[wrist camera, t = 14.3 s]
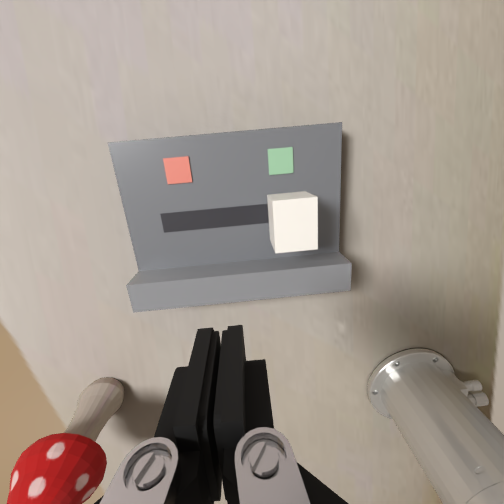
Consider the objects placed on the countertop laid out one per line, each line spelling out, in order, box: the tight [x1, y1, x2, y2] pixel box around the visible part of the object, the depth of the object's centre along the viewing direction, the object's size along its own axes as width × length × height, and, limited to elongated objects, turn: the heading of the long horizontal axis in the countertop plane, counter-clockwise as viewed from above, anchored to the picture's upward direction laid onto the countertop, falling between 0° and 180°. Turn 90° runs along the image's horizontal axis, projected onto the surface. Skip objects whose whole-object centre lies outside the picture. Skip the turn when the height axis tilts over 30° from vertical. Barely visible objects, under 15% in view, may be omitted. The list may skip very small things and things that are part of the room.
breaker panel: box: [108, 122, 352, 312], centre depth 28 cm, size 22×16×6 cm
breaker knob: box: [267, 191, 318, 253], centre depth 25 cm, size 4×4×6 cm
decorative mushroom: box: [7, 377, 124, 504], centre depth 31 cm, size 10×9×15 cm
